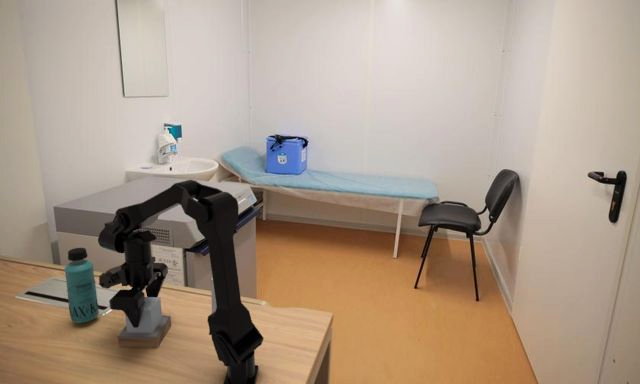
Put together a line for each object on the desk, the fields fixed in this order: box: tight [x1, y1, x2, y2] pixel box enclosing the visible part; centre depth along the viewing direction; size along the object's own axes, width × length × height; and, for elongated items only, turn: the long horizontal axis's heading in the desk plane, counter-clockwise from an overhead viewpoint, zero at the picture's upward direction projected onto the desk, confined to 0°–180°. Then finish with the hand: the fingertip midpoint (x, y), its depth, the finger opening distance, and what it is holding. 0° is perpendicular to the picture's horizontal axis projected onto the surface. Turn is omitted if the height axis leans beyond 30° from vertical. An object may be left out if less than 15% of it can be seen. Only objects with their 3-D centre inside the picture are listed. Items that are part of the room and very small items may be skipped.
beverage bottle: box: [64, 247, 100, 324], centre depth 101 cm, size 6×7×20 cm
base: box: [117, 314, 172, 349], centre depth 97 cm, size 9×9×3 cm
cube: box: [124, 296, 163, 333], centre depth 96 cm, size 6×6×6 cm
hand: (144, 316), depth 96 cm, fingers open, 9 cm apart
